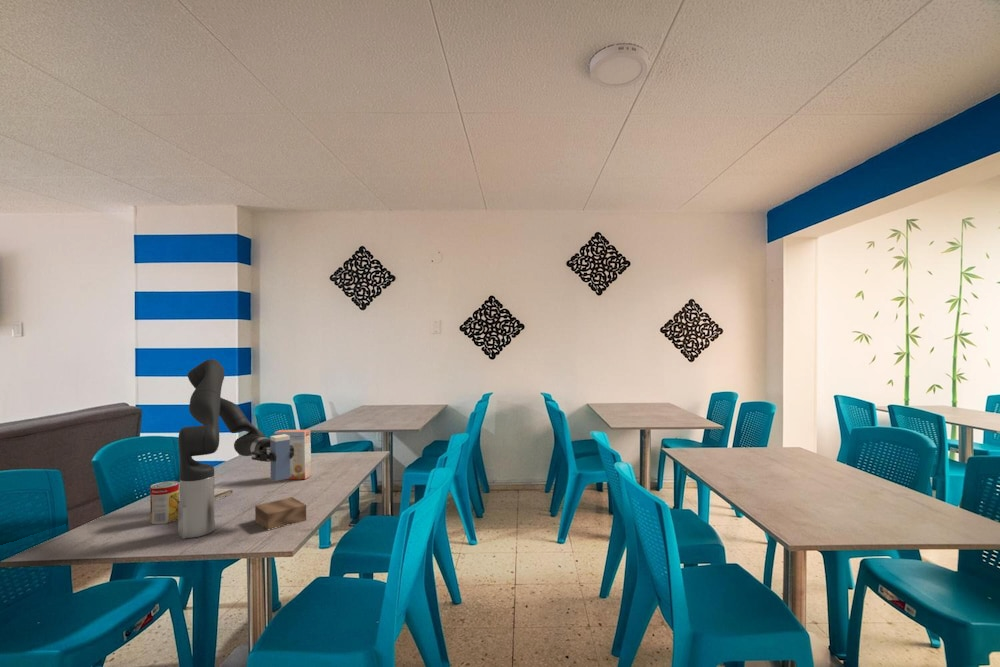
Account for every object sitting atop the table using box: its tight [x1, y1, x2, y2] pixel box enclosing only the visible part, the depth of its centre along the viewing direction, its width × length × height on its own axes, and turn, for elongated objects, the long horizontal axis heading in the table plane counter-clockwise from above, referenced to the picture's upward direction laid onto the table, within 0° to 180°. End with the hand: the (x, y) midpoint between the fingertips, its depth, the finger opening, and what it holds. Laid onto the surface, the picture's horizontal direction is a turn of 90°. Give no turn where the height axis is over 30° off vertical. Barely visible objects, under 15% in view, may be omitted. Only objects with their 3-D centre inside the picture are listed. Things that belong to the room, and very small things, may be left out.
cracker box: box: [273, 429, 312, 480], centre depth 210 cm, size 14×6×21 cm, turn 84°
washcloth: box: [179, 488, 234, 503], centre depth 182 cm, size 12×18×3 cm, turn 163°
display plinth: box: [254, 497, 307, 530], centre depth 159 cm, size 12×12×5 cm
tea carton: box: [269, 434, 290, 482], centre depth 160 cm, size 5×5×14 cm
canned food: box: [149, 480, 180, 525], centre depth 162 cm, size 8×8×12 cm
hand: (283, 456), depth 158 cm, fingers closed on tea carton, 4 cm apart
